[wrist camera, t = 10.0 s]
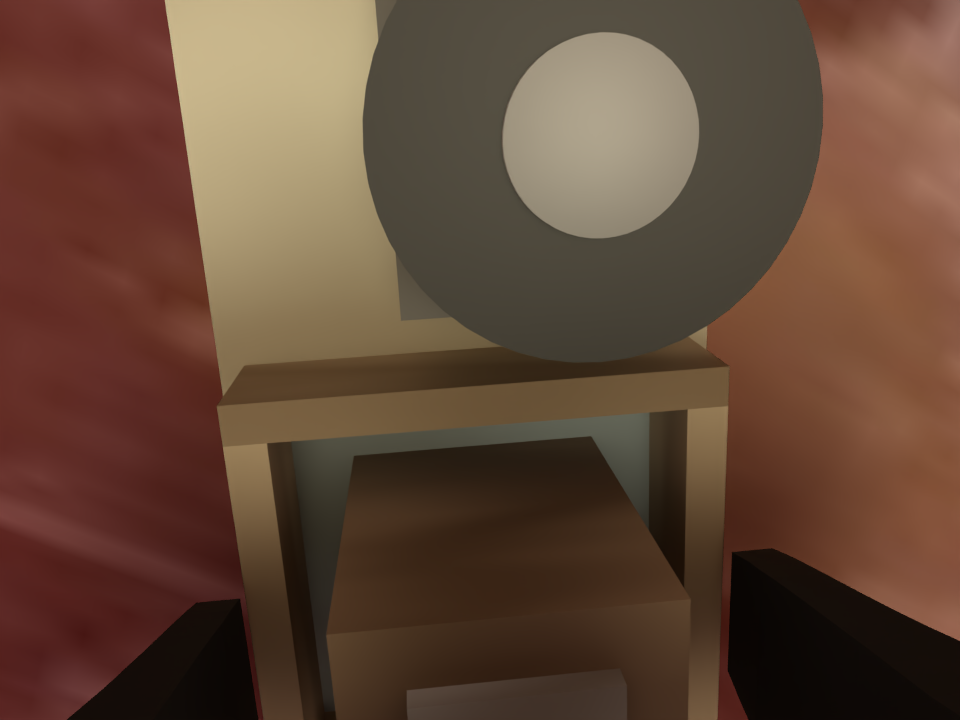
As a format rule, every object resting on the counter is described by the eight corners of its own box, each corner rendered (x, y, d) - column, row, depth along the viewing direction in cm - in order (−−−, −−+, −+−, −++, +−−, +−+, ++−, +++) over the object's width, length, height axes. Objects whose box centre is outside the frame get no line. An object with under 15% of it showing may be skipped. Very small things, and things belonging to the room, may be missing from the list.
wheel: (694, 284, 13) (817, 350, 9) (388, 306, 13) (383, 384, 9) (701, -50, 12) (850, -138, 8) (360, -36, 11) (338, -122, 7)
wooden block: (590, 435, 14) (700, 614, 9) (594, 640, 15) (692, 903, 10) (354, 455, 14) (323, 652, 8) (374, 662, 15) (359, 945, 10)
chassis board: (677, 656, 17) (748, 794, 13) (283, 697, 16) (250, 852, 13) (689, -36, 13) (791, -95, 10) (182, -15, 13) (99, -70, 9)
